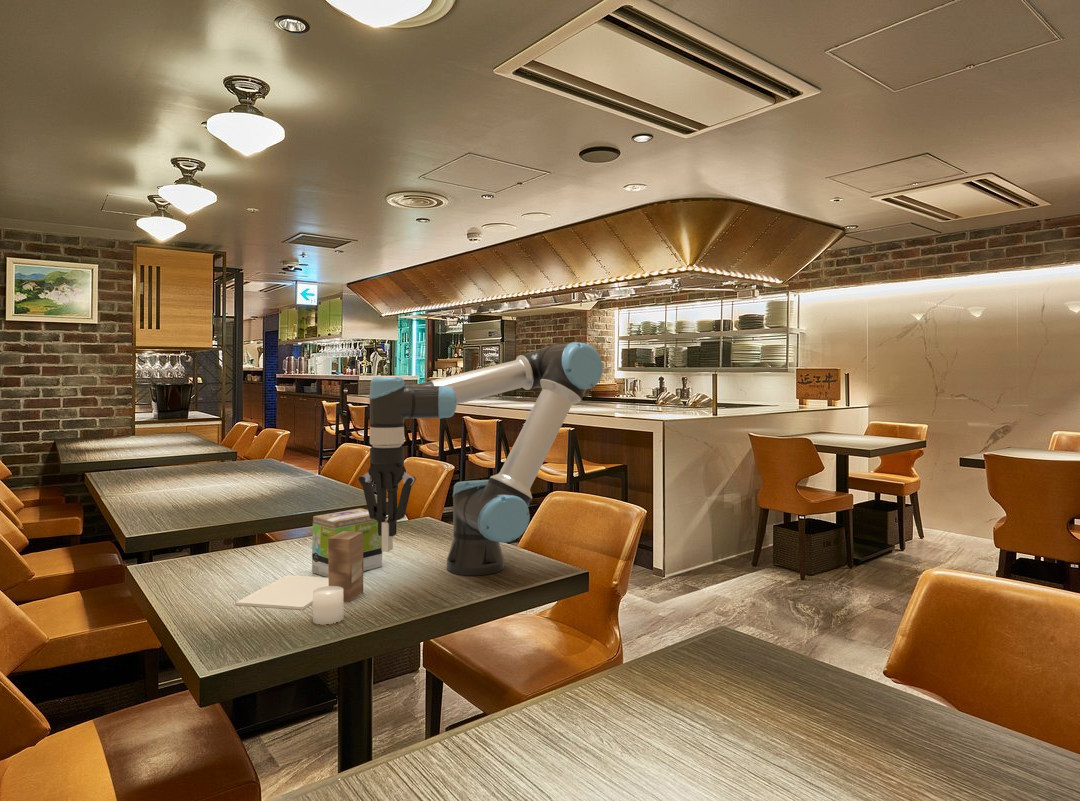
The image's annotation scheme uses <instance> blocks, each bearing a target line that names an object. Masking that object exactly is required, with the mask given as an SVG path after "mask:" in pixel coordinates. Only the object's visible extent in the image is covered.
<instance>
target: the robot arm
mask: <svg viewBox="0 0 1080 801" xmlns="http://www.w3.org/2000/svg"><path fill="white" fill-rule="evenodd" d="M603 365H604V364H603V362H602V359H601V355H600V353H599V352H598V351H597V350H596V348H595V347H594V346H592V345H590V344H589V343H587V342H578V341H574V342H570V343H562V344H561V343H559V344H552V345H548V346H545V347H543V348H540V349H537V350H533V351H531V352H528V353H524V354H523V353H522V354H520V355H517V356H516V358H515V360H511V361H506V362H502V363H499V364H495V365H490V366H485V367H481V368H478V369H473V370H468V371H465V372H461V373H457V374H452V375H450V376H445V377H441V378H437V379H432V380H429V381H424V382H419V383H416V384H407V385H406V383H405V380H404V378H403V377H401V376H399V377H398V376H397V377H395V376H394V377H393V376H392V377H391V376H390V377H389V376H387V377H385V376H376V377H373V378H372V379H371V380H370V385H369V397H368V399H369V445H371V447H370V448H369V463H370V466H369V468H368V470H367V472H366V473H365V474H364V475H360V476H359V477H358V478H357V479H358V482H359V484H360V485H361V487H362V489H363V494H364V499H365V503H366V507H367V510H368V512H369V517H370V518H371V519H375V520H377V521H378V535H379V536H382V553H384V552H385V553H387V552H390V551H391V550H393V549H394V548H393V546H394V545H393V542H394V541H393V540H394V536H396V535H397V521H399V520H400V521H401V520H402V519H403V518H405V516H406V513H407V507H408V503H409V501H410V500H409V499H410V494H411V490H412V487H413V485H414V484H415V482H416V480H417V478H416V477H415V476H411V475H410V474H408V473H407V469H406V467H405V447H404V446H403V445H404V443H405V419H408V420H409V419H446V418H452V417H453V416H454V414H455V413H456V410H457V406H458V405H460V404H464V403H468V402H471V401H474V400H479V399H483V398H487V397H492V396H495V395H498V394H502V393H506V392H509V391H510V392H511V391H514V390H518V389H521V388H522V389H524V390H527V391H529V390H532V389H537V388H538V389H540V388H541V391H540V393H539V395H538V397H537V399H536V401H535V402H534V405H533V407H532V408H531V410H530V412H529V414H528V416H527V417H526V420H525V422H524V424H523V425H522V428H521V430H520V432H519V434H518V436H517V438H516V440H515V442H514V444H513V446H512V448H511V449H510V451H509V453H508V456H507V457H506V458H505V461H504V463H503V465H502V467H501V469H500V471H499V472H498V473H497V474H494V475H491V476H490V477H489V478H488V479H481V480H480V479H475V480H464V481H458V482H456V483H455V484H454V485H453V491H452V492H453V493H452V503H453V504H452V506H453V507H452V508H453V509H452V516H453V518H452V521H453V522H452V523H453V525H452V526H453V527H452V528H453V531H452V532H453V533H452V534H453V539H452V542H451V545H450V548H449V552H448V555H447V558H446V570H447V571H448V572H449V573H452V574H456V575H461V576H486V575H492V574H496V573H498V572H500V571H502V570H503V569H505V556H504V552H503V550H502V548H501V544H504V543H506V544H507V543H509V542H513V541H516V539H518V538H519V537H521V536H522V535H523V534H524V533H525V531H526V530H527V528H528V525H529V523H530V516H531V514H530V509H529V506H530V503H531V502H532V500H533V496H532V491H531V487H532V485H533V483H534V481H535V480H536V478H537V476H538V474H539V472H540V470H541V468H542V465H543V463H544V462H545V459H546V458H547V455H548V453H549V452H550V449H552V448H551V447H552V446H553V444H554V441H555V440H556V438H557V435H558V433H559V431H560V430H561V428H562V426H563V424H564V422H565V420H566V418H567V416H568V414H569V412H570V409H571V408H572V406H573V405H576V404H578V403H581V402H582V399H583V397H584V395H585V394H586V391H587V390H589V389H592V388H593V387H595V386H596V385H598V384H599V382H600V380H601V378H602V377H603V376H602V375H603V371H604V367H603ZM401 481H402V484H403V485H402V488H401V492H400V495H399V496H400V497H399V501H398V490H399V484H401ZM372 482H374V484H375V491H376V494H375V491H374V486H373V483H372ZM500 543H501V544H500Z"/></svg>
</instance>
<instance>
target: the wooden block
mask: <svg viewBox="0 0 1080 801" xmlns="http://www.w3.org/2000/svg"><path fill="white" fill-rule="evenodd" d="M328 572H329V586H339V587H342V588H343V603H351V602H352V601H353V600H354V599H356V598H357V597H358V596H360V595H361V594H362V593H364V571H363V532H348V531H343V532H340V533H338V534H336V535H334V536H332V537H330V538H328Z"/></svg>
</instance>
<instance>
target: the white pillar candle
mask: <svg viewBox="0 0 1080 801" xmlns="http://www.w3.org/2000/svg"><path fill="white" fill-rule="evenodd" d="M344 611H345V609H344V602H343V588H342V587H339V586H326V587H321V588H318V589H315V590H314V591H313V604H312V622H313V623H314V624H315V625H319V624H320V625H321V626H327V625H326V624H329V625H333V623H334V624H337V623H336V622H338V623H340V622H342V621H343V620H344V618H345V617H344ZM341 620H342V621H341Z"/></svg>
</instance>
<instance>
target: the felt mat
mask: <svg viewBox="0 0 1080 801" xmlns="http://www.w3.org/2000/svg"><path fill="white" fill-rule="evenodd" d="M326 586H329V578H328V577H325V576H321V577H320V576H305V575H289V574H287V575H284V576H282V577H280V578H278V579H276V580H274V581H273V582H271V583H269V584H267V585H265V586H264V587H262V588H260V589H258V590H256V591H254V592H252V593H251V594H248V595H247V596H245V597H243V598H241V599H239V600H237V601H236V602H235V605H236V606H243V607H244V606H245V607H255V608H256V607H257V608H259V607H260V608H271V609H287V610H301V611H304V610H305V609H306V608H308V607H310V606H311V605H313V591H314V590H315V589H318V588H321V587H326Z"/></svg>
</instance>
